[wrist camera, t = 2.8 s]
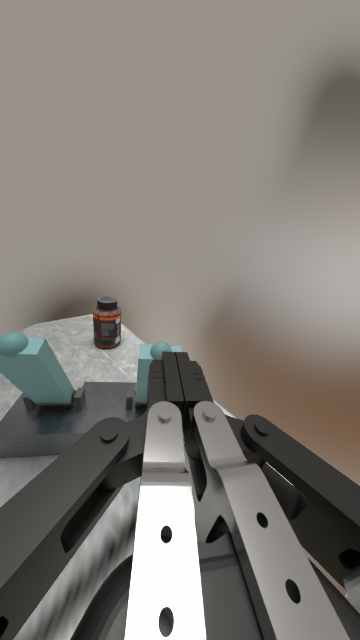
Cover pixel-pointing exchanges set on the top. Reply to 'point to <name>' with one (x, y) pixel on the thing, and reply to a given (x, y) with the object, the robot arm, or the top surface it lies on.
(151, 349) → the outer lever
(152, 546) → the robot arm
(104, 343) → the supplement bottle
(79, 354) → the top surface
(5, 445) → the switch box
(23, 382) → the inner lever
